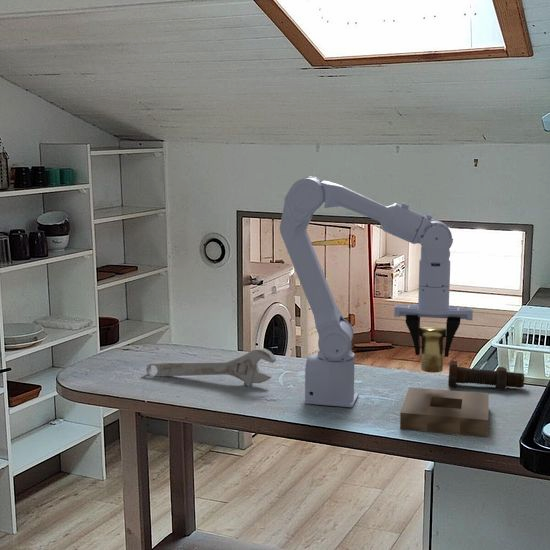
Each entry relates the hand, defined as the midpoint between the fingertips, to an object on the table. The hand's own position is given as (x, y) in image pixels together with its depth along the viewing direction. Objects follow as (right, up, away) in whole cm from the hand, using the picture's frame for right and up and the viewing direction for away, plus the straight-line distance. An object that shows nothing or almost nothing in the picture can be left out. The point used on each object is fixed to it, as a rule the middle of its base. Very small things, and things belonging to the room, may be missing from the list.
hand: (432, 354), depth 151 cm
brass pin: (0, -3, +1) cm, 3 cm away
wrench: (-44, -8, +17) cm, 48 cm away
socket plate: (+1, -11, -6) cm, 13 cm away
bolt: (+13, -8, +12) cm, 20 cm away
